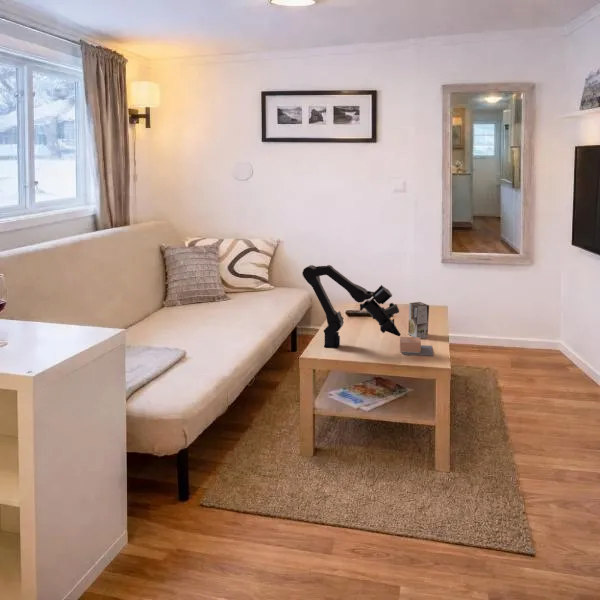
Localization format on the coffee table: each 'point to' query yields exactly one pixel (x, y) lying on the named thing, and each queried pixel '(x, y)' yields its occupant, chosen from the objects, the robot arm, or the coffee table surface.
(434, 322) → the coffee table surface
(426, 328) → the coffee box
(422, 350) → the mat
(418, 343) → the pinkish brown block
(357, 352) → the coffee table surface
